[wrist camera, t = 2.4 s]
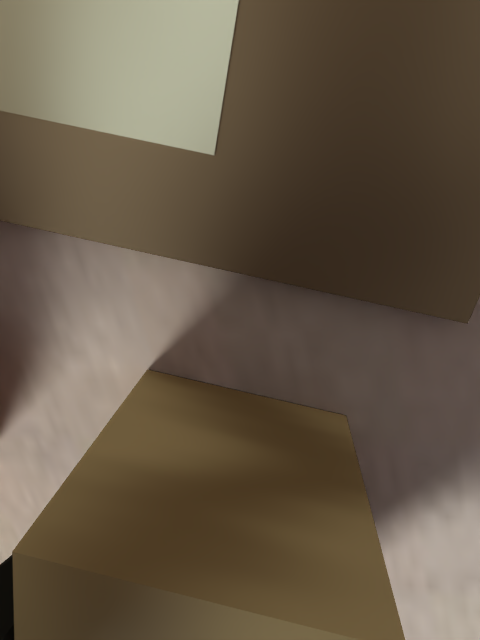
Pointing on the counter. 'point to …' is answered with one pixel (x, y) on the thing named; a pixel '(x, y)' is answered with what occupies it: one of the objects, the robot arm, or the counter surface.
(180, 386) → the oak block
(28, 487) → the counter surface
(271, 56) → the brown wooden board
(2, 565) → the robot arm
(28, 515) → the counter surface
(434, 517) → the counter surface
